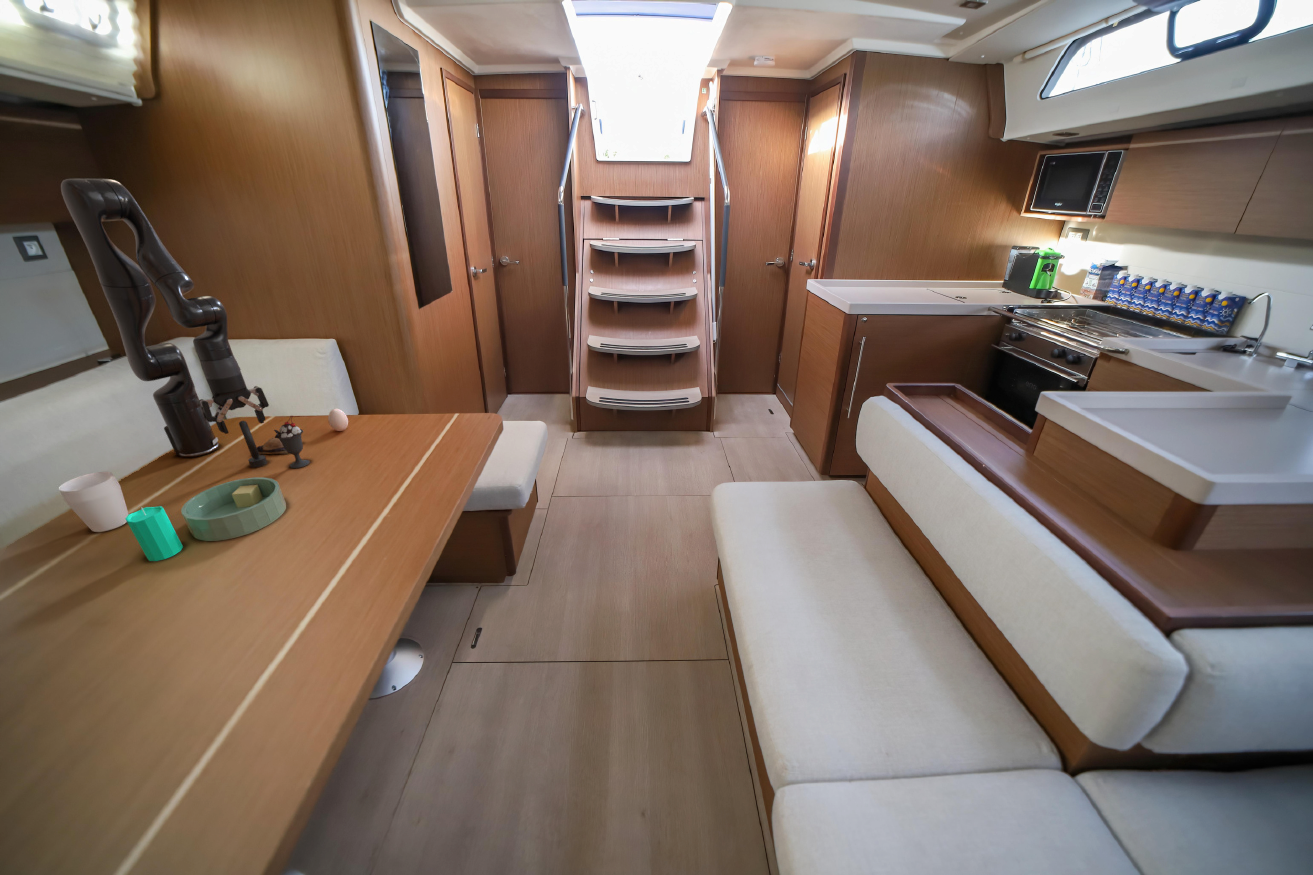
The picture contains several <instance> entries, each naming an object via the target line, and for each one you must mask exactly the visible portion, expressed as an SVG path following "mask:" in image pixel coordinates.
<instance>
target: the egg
mask: <svg viewBox="0 0 1313 875" xmlns="http://www.w3.org/2000/svg"><path fill="white" fill-rule="evenodd" d="M327 421H328V424H329V426H330V428H331V429H332V430H334V431H335V432H336V431H337V432H343V431H345V430H346V429H347V428H348V426H349V419H348V416H347V414H346V413H345V412H344V411H342V409H339V408H333V409H331V410H330V411H329V413H328V417H327Z"/></svg>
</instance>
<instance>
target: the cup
mask: <svg viewBox="0 0 1313 875" xmlns="http://www.w3.org/2000/svg"><path fill="white" fill-rule="evenodd" d="M58 490H59V492H60V494H61V496H62V498H63V501H64V502H65V503H66V504H67V505H68V507H69V508H70V509H71V510H72V511H73V512H74V513H75V515H77V517H79V519H80V520H81V521H82V522H83V523H84V524H85V525H86V526H87V527H88V528H89V529H90V530H91V532H95V533H102V532H103V533H104V532H107V531H111V530H114V529H117V528H119V527H121V526H123V525H125V524H127V521H126V517H127V516H128V514H130V513H129V510H128V507H127V503H126V501H125V496H124V494H123V490H122V487H121V484H120V483H119V481H118V480H117V478H116V477H115V475H114V474H113V473H112V472H110V471H97V472H92V473H87V474H84V475H80V476H77V477H74V478H72V479H69V480H67V481H65V482H64V483H62V484H61V485H60V486H59V487H58Z"/></svg>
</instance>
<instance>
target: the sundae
mask: <svg viewBox="0 0 1313 875" xmlns="http://www.w3.org/2000/svg"><path fill="white" fill-rule="evenodd" d="M293 417H294V415H290V416H289V419H288V420H286V421H285V422H284V423H283V424H282V425H280V427H279V430H278V429H273V432H275V433H276V434H275V435H274V438H277V439H279V440H280V441H281V443H282V444H283V446H284V448H285V450H286V451H287V452H288V453H287V454H290V455H293V456H294V459H295V461H293V462H292V463H290V465H289V467H290V469H300V468H304V467H306V466H308V465H309V464H310V460H309V459H302V457H301V455H300V453H301V452H302V451H303V449H304V445H303V444H304V443H303V438H302V434H303V433H304V430H303V429H302V428H300V427H299V426H296V423H294V422H293ZM289 421H290V422H291V423H290V422H289Z"/></svg>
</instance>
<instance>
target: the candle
mask: <svg viewBox="0 0 1313 875" xmlns="http://www.w3.org/2000/svg"><path fill="white" fill-rule="evenodd" d="M140 508H141V509H139V510H137V511H134V512H132V513H129V514H128V516H127V517H126V521H127V522H126V524H127V525H128V526H129V528H130V531H131V532H132V535H133V536H134V538H135V539H136V541H137V543H138V545H139V546H140V549H141V550H142V552H143V553H144V555H145V557H146V559H147V560H148V561H149V562H159V561H162V560H166V559H169V558H171V557H174V556H175V555H177V554H178V553H180V552H181V551H182V549H183V548H184V546H183V544H182V542H181V540H180V538H179V535H178V533H177V532H176V530H175V528H174V526H173V524H172V522H171V520H170V518H169V515H168V514H167V512H166V510H165V508H164V507H163V506H162V505H159V506H145V507H142V506H141V507H140Z"/></svg>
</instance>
